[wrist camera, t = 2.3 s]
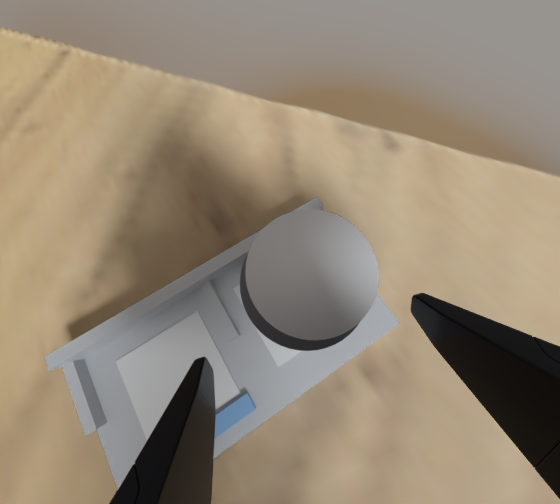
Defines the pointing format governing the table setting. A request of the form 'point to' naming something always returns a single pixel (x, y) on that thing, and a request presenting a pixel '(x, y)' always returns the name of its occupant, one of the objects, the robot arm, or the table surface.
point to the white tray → (185, 349)
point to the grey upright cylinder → (308, 279)
